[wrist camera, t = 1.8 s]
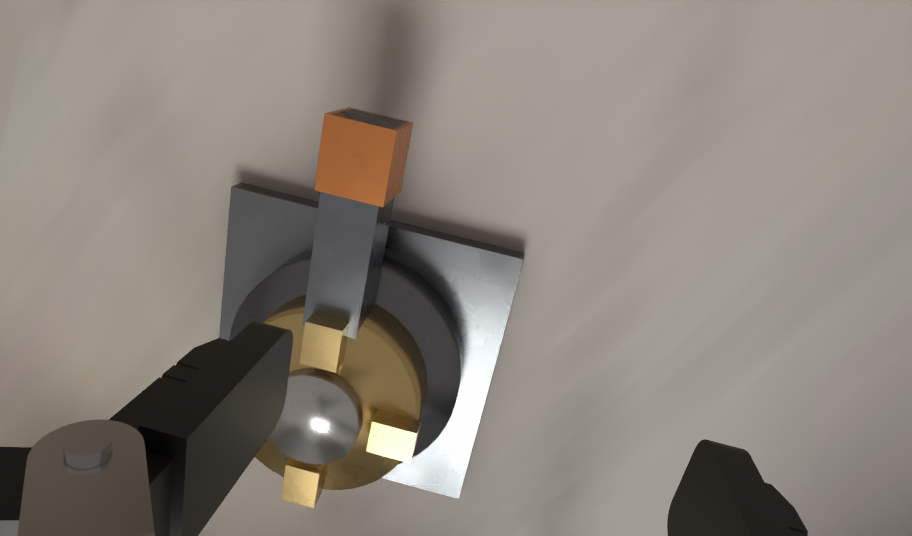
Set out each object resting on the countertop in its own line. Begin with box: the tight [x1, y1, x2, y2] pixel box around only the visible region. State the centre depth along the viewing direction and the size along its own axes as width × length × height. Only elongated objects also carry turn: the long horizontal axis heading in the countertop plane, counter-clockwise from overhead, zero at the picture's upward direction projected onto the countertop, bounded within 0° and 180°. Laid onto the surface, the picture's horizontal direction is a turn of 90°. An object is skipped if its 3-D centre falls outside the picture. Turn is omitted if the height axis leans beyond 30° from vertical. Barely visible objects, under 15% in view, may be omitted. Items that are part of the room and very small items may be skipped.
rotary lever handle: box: [255, 108, 427, 508], centre depth 26 cm, size 18×9×4 cm, turn 168°
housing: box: [219, 183, 524, 499], centre depth 29 cm, size 15×15×7 cm
